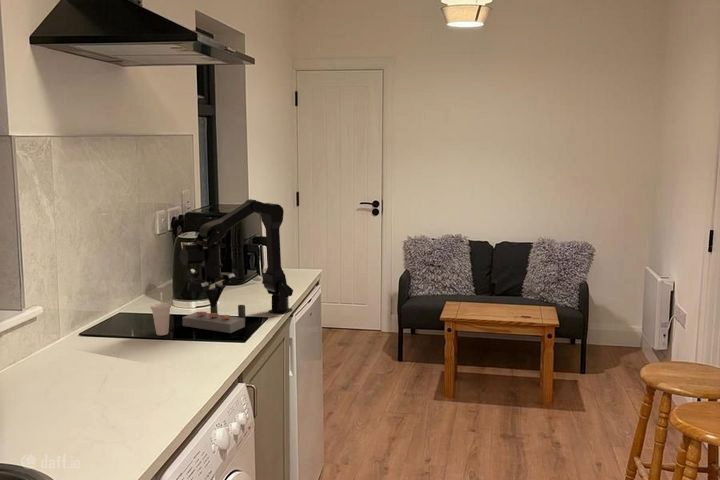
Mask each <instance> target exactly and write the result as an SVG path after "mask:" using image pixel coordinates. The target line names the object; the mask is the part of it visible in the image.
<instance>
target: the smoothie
mask: <svg viewBox="0 0 720 480" xmlns="http://www.w3.org/2000/svg"><path fill="white" fill-rule="evenodd" d="M159 294H160V296H159V297H160V302H157V303H153V304H151V305H150V310H151V312H152V317H153V323H154V328H155V334H156V335H157V336H165V335H168V334H169V329H170V328H169V327H170V314H171V313H170V312H171V308H172V304H171V303H170V302H163V292H162V291H160V293H159Z"/></svg>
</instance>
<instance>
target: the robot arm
mask: <svg viewBox="0 0 720 480" xmlns="http://www.w3.org/2000/svg"><path fill="white" fill-rule="evenodd" d="M254 213H255V214H259V215H260V219H261V222H262V225H263V226H264V228H265V242H266V261H267V268H266V270H265V272H262V273H261V279H262V282H261V283H262V284H263V287H264V288H265V290H266V291H267V294H269V295H271V309H269V310H268V313H275V314H282V315H283V314H287V313H289V312H291V311H293V308H291V307H290V306H289V304H290V302H289V297H291V296H293V292H294V289H293V288H292V287H291V286H290V285H289V284H288V282H287V277H286V274H285V272H284V270H283V268H282V257H281V254H282V253H281V238H280V235H281V233H280V228H281V226H282V223H283V222H284V214H285V213H284V208H283V207H282V206H281V204H279V203H271V202H261V201H259V200H257V199H249V198H248V199H247V200H245V202H243V203H242V204H241V205H239V206H236V208H234V209H233V210H231V211H230V212H227V214H225V215H224V216H222V217H220V218H218V219H214V220H211V221H209V222H206V223H204V224H202V225H201V226H199V227H200V228H199V231H198V233H197V236H196V237H195V239H194V240H193V243H190V244H186V243H185V244H182V248H181V250H180V253H179V260H180V263H181V264H182V266H192V265H198V264H200V266H199V269H197V270H195V269H194V268H191V269H188V270H186V278H187V280H190V282H189V283H188V284H187V290H188V292H197V293H205V294H206V296H207V299H208V302H209V305H210V304H211V307H215V306H216V304H217V305H218V301H219V299H220V298H221V295H222V293H223V291H224V290H225V288H226V287H227V286H226V285H224V284H223V283H224V282H226V281H228V282H229V283H230V284H233V283H236V281H237V277H236V275H235V273H233V272H222V271H221V270H222V268H224V264H223V263H221V248H226V247H227V245H226V244H225V243H223V242H222V239H223V238H224V237H225V236H226V235H227V233H228V232H229V230H230V229H231V228H233V227H234V226H236V225H237V224H239V223H240V222H242V221H243V220H245V219H246V218H247V217H249V216H250V215H252V214H254Z"/></svg>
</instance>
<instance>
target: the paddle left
mask: <svg viewBox="0 0 720 480" xmlns="http://www.w3.org/2000/svg"><path fill="white" fill-rule="evenodd" d="M196 312H197V315H201V316H202V315H207V313H208V312H207V311H203V310H202V311H196Z"/></svg>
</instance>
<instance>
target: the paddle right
mask: <svg viewBox="0 0 720 480" xmlns="http://www.w3.org/2000/svg"><path fill="white" fill-rule="evenodd" d="M220 315H221V316H220V318H222V319H229V318H230V316H231V315H229V314H220Z"/></svg>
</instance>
